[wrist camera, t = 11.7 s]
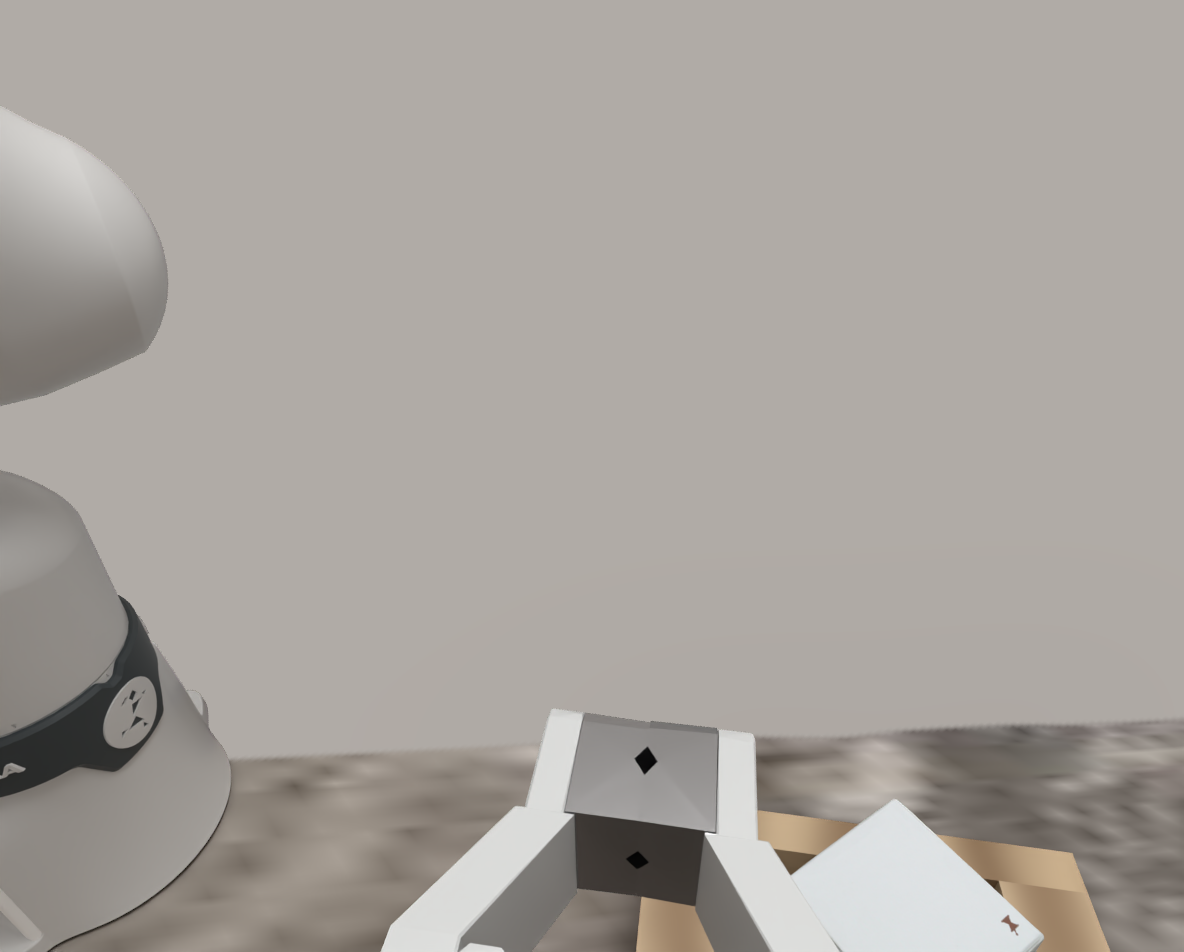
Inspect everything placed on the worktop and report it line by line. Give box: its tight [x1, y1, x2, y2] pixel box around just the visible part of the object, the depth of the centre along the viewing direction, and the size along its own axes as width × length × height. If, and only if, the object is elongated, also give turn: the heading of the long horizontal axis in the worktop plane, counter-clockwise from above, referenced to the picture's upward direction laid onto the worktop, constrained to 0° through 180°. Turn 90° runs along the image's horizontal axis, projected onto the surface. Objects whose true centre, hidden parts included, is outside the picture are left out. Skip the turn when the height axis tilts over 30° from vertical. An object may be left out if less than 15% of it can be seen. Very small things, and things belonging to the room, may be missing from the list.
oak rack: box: [636, 810, 1110, 952], centre depth 38 cm, size 21×8×7 cm, turn 81°
